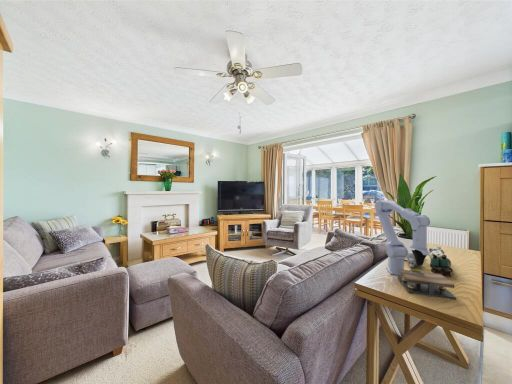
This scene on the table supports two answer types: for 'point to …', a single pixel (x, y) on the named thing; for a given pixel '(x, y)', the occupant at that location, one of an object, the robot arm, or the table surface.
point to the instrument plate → (425, 278)
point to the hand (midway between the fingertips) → (419, 264)
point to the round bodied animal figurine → (411, 259)
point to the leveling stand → (426, 289)
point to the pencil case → (438, 254)
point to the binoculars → (440, 265)
